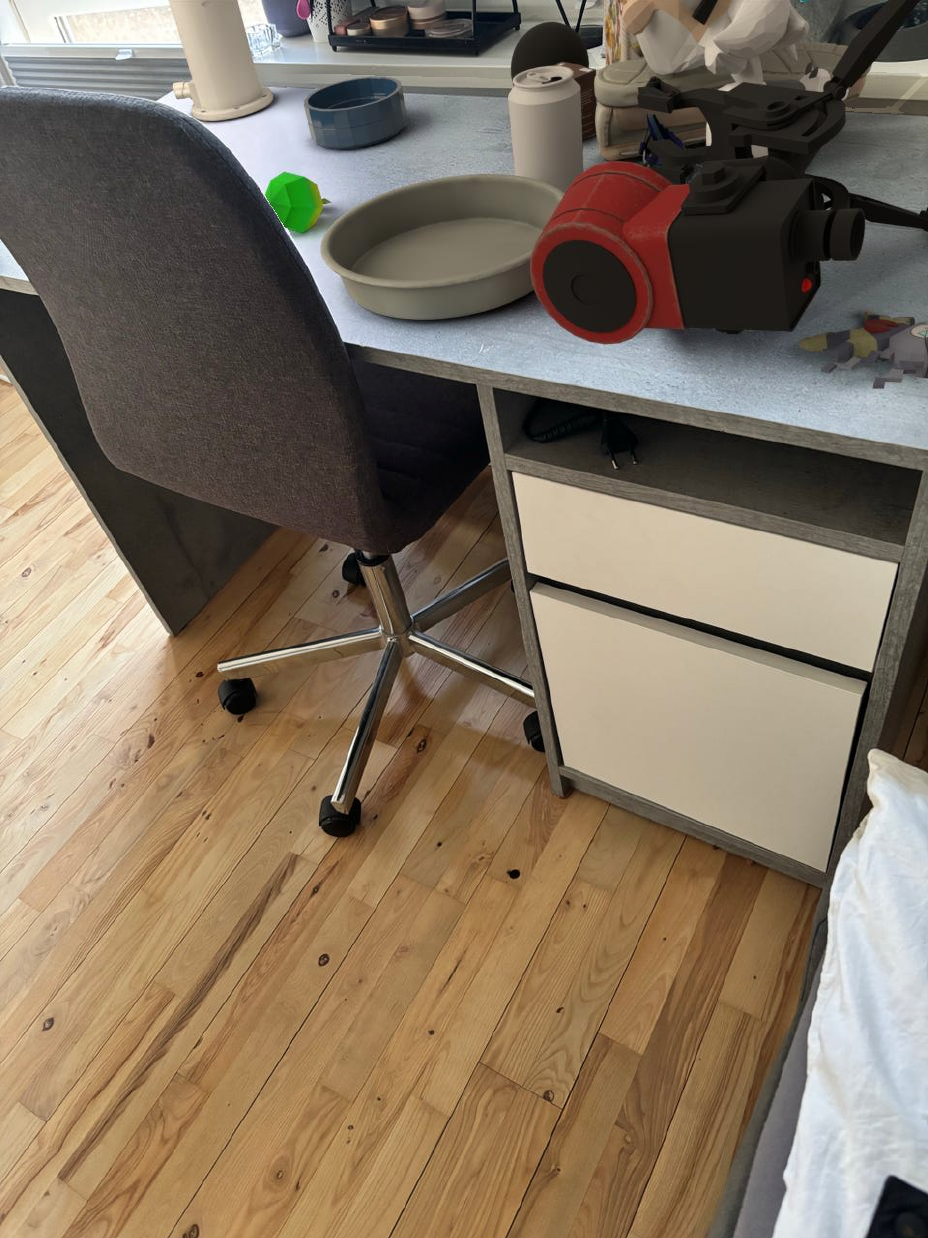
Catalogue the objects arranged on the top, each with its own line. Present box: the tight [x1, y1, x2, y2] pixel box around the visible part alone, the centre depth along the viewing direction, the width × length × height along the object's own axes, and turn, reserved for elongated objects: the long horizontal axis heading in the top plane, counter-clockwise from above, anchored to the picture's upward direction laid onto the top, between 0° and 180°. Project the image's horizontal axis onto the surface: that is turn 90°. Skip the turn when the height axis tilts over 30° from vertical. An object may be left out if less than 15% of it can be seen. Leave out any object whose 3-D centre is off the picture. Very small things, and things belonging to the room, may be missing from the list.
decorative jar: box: [604, 0, 645, 66], centre depth 107 cm, size 12×12×18 cm
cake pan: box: [319, 173, 565, 321], centre depth 90 cm, size 25×25×4 cm
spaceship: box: [639, 114, 687, 169], centre depth 100 cm, size 7×6×5 cm
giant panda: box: [704, 61, 850, 158], centre depth 96 cm, size 15×6×10 cm, turn 93°
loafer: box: [594, 41, 873, 162], centre depth 103 cm, size 11×30×9 cm, turn 88°
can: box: [507, 66, 584, 193], centre depth 98 cm, size 8×8×12 cm
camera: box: [530, 0, 928, 346], centre depth 76 cm, size 25×30×29 cm
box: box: [553, 62, 598, 141], centre depth 111 cm, size 6×6×7 cm
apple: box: [264, 171, 333, 234], centre depth 104 cm, size 7×6×9 cm
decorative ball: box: [510, 21, 590, 87], centre depth 118 cm, size 10×10×10 cm
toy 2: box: [797, 310, 928, 390], centre depth 69 cm, size 15×4×15 cm
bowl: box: [303, 75, 409, 150], centre depth 124 cm, size 13×13×5 cm
